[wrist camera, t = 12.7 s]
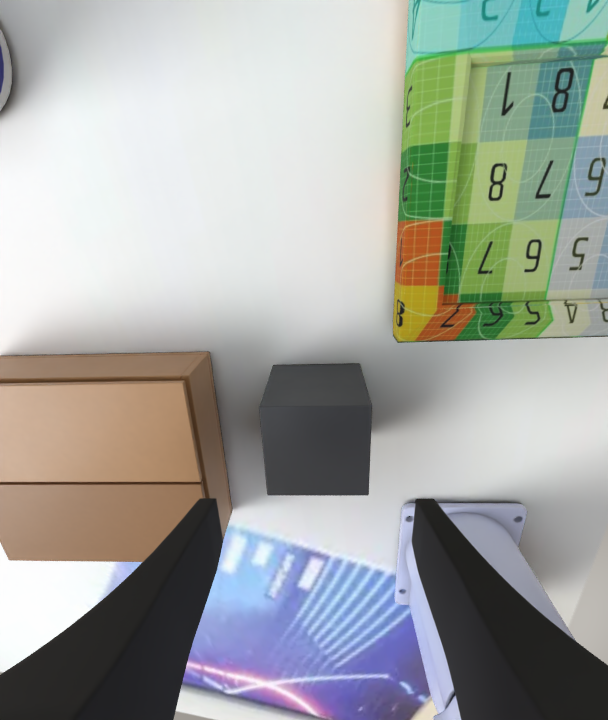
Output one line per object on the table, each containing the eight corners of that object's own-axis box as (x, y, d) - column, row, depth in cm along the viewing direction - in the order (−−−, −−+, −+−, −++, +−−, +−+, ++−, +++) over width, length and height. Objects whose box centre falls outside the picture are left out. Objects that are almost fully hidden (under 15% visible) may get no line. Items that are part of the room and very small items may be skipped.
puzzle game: (1090, -663, 7) (701, 341, 14) (780, -305, 11) (608, 313, 18) (457, -555, 7) (402, 349, 14) (405, -258, 12) (383, 321, 19)
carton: (232, 510, 24) (216, 563, 20) (56, 509, 25) (8, 561, 21) (209, 351, 20) (183, 381, 16) (-3, 355, 20) (-76, 385, 17)
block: (357, 437, 21) (368, 495, 17) (278, 438, 22) (267, 495, 17) (359, 363, 20) (372, 405, 15) (272, 364, 20) (258, 406, 15)
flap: (216, 558, 20) (215, 562, 20) (13, 556, 21) (8, 560, 21) (202, 480, 18) (200, 484, 18) (-23, 480, 19) (-28, 484, 19)
